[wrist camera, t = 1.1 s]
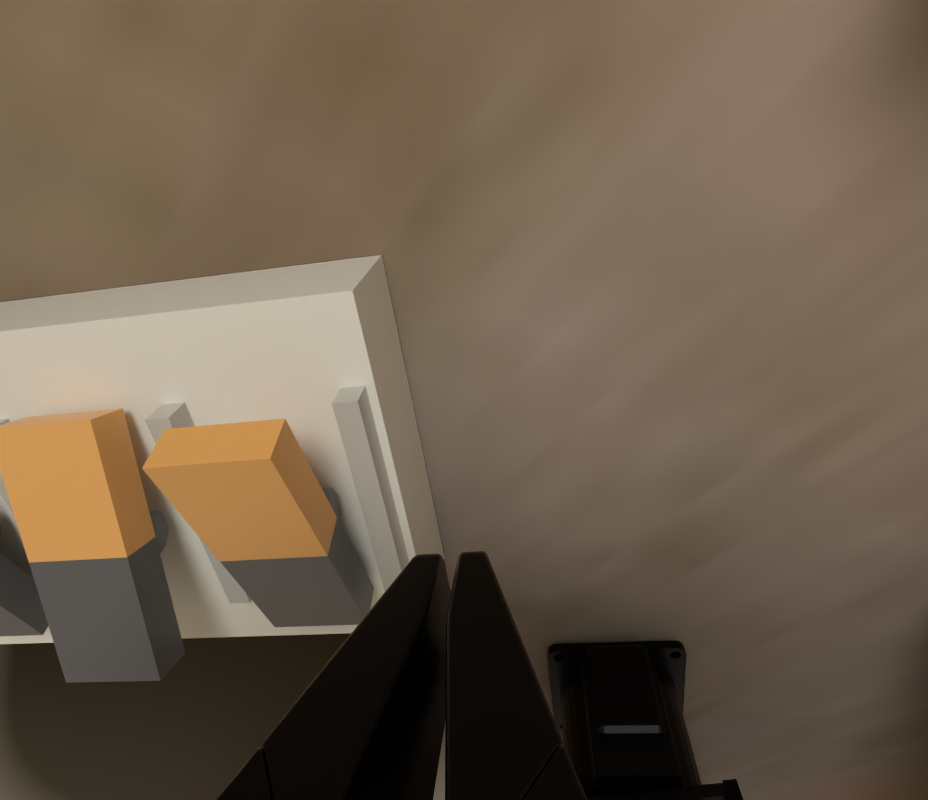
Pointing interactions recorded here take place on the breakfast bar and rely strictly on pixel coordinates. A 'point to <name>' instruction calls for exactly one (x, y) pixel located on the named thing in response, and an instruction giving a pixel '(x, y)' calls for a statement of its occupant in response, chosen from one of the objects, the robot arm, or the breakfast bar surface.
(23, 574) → the block
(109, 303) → the switch box
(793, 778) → the breakfast bar surface
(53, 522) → the block
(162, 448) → the rocker
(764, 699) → the breakfast bar surface
